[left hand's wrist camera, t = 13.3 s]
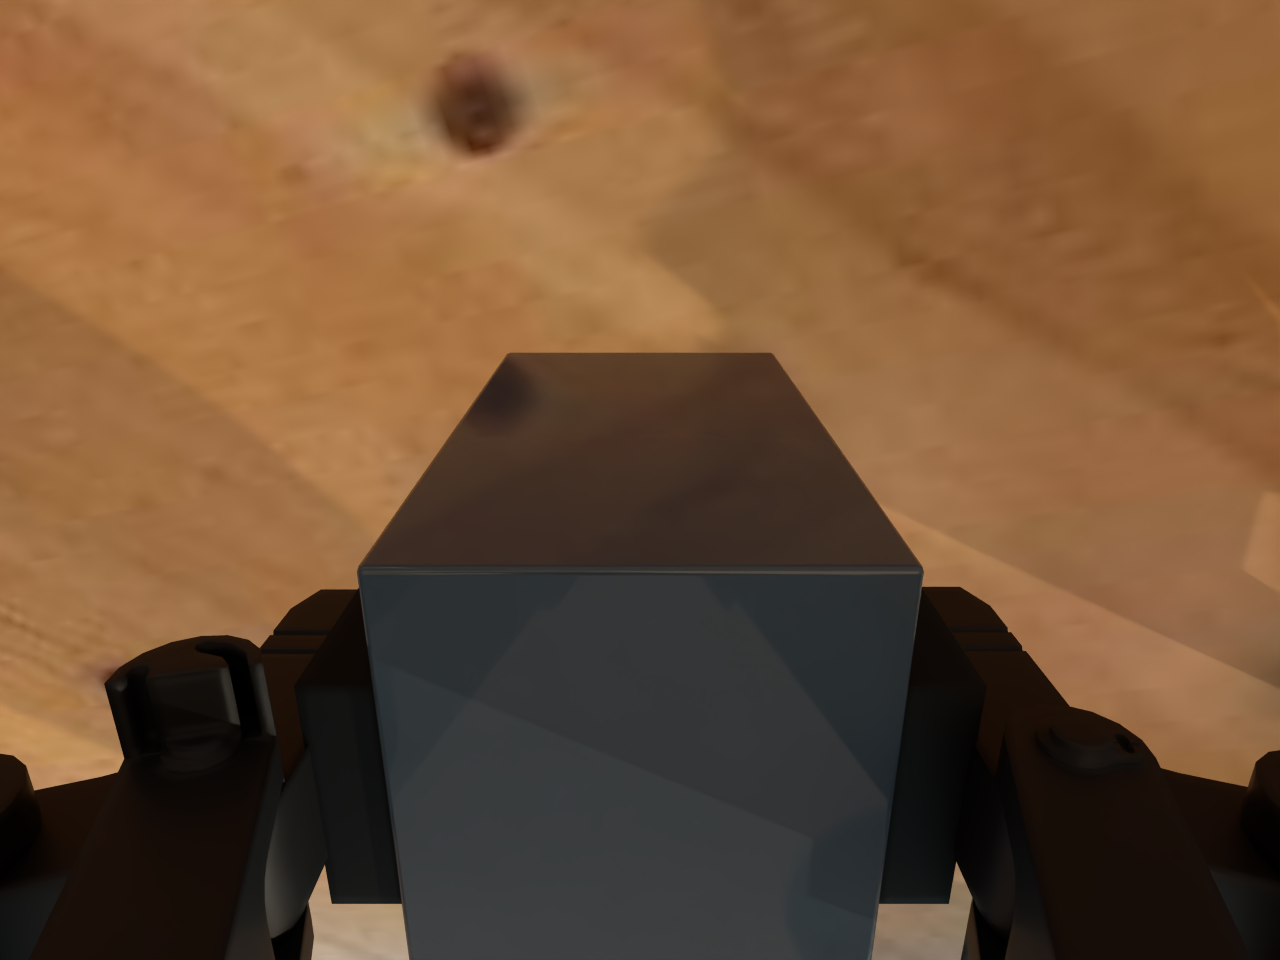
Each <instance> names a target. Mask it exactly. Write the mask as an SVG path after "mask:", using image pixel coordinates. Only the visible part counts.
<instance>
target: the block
mask: <svg viewBox="0 0 1280 960" xmlns="http://www.w3.org/2000/svg"><path fill="white" fill-rule="evenodd" d="M923 575H924V570H923V567H922V565H921V564H920V562H919V561H918V559H917V558H916V557H915V555H914V554H913V552H912V551H911V550H910V548H909V547H908V545H907V544H906V542H905V541H904V540H903V538H902V537H901V535H900V534H899V532H898V531H897V530H896V528H895V527H894V525H893V524H892V522H891V521H890V520H889V518H888V517H887V515H886V514H885V512H884V511H883V510H882V508H881V507H880V505H879V504H878V502H877V501H876V500H875V498H874V497H873V495H872V494H871V493H870V491H869V490H868V488H867V487H866V485H865V484H864V483H863V481H862V480H861V478H860V477H859V475H858V474H857V473H856V471H855V470H854V468H853V467H852V465H851V464H850V463H849V461H848V460H847V458H846V457H845V455H844V454H843V453H842V451H841V450H840V448H839V447H838V445H837V444H836V443H835V441H834V440H833V438H832V437H831V436H830V434H829V433H828V431H827V430H826V428H825V427H824V426H823V424H822V423H821V421H820V420H819V418H818V417H817V416H816V414H815V413H814V411H813V410H812V408H811V407H810V406H809V404H808V403H807V401H806V400H805V398H804V397H803V396H802V394H801V393H800V391H799V390H798V388H797V387H796V386H795V384H794V383H793V381H792V380H791V379H790V377H789V376H788V374H787V373H786V371H785V370H784V369H783V367H782V366H781V364H780V363H779V361H778V360H777V359H776V357H775V356H774V354H772V353H508V354H507V355H506V356H505V358H504V359H503V361H502V362H501V363H500V365H499V366H498V368H497V369H496V371H495V372H494V373H493V375H492V376H491V378H490V379H489V381H488V382H487V383H486V385H485V386H484V388H483V389H482V391H481V392H480V393H479V395H478V396H477V398H476V399H475V401H474V402H473V403H472V405H471V406H470V408H469V409H468V411H467V412H466V413H465V415H464V416H463V418H462V419H461V421H460V422H459V423H458V425H457V426H456V428H455V429H454V431H453V432H452V433H451V435H450V436H449V438H448V439H447V441H446V442H445V443H444V445H443V446H442V448H441V449H440V451H439V452H438V453H437V455H436V456H435V458H434V459H433V461H432V462H431V463H430V465H429V466H428V468H427V469H426V471H425V472H424V473H423V475H422V476H421V478H420V479H419V481H418V482H417V483H416V485H415V486H414V488H413V489H412V491H411V492H410V493H409V495H408V496H407V498H406V499H405V501H404V502H403V504H402V505H401V506H400V508H399V509H398V511H397V512H396V514H395V515H394V516H393V518H392V519H391V521H390V522H389V524H388V525H387V526H386V528H385V529H384V531H383V532H382V534H381V535H380V536H379V538H378V539H377V541H376V542H375V544H374V545H373V546H372V548H371V549H370V551H369V552H368V554H367V555H366V556H365V558H364V559H363V561H362V562H361V564H360V565H359V567H358V570H357V576H358V583H359V591H360V598H361V606H362V613H363V620H364V628H365V635H366V642H367V650H368V657H369V665H370V672H371V679H372V687H373V694H374V702H375V709H376V716H377V724H378V731H379V739H380V746H381V753H382V761H383V768H384V776H385V783H386V790H387V798H388V805H389V813H390V820H391V827H392V835H393V842H394V849H395V857H396V864H397V872H398V879H399V886H400V894H401V901H402V909H403V916H404V923H405V931H406V938H407V946H408V953H409V960H871V958H872V951H873V943H874V936H875V929H876V921H877V914H878V907H879V899H880V892H881V884H882V877H883V870H884V862H885V855H886V848H887V840H888V833H889V825H890V818H891V811H892V803H893V796H894V789H895V781H896V774H897V766H898V759H899V752H900V744H901V737H902V730H903V722H904V715H905V707H906V700H907V693H908V685H909V678H910V671H911V663H912V656H913V649H914V641H915V634H916V626H917V619H918V612H919V604H920V597H921V590H922V582H923Z"/></svg>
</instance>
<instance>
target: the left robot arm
mask: <svg viewBox="0 0 1280 960" xmlns="http://www.w3.org/2000/svg"><path fill="white" fill-rule="evenodd" d="M104 685H105V688H106V692H107V696H108V700H109V703H110V707H111V711H112V714H113V718H114V722H115V725H116V729H117V733H118V737H119V740H120V744H121V748H122V751H123V755H124V761H123V763H122V765H121V767H120V769H119V771H118V772H117V773H114V774H110V775H106V776H103V777H98V778H93V779H88V780H84V781H79V782H74V783H69V784H64V785H59V786H54V787H49V788H45V789H40V790H35V791H34V789H33V786H32V783H31V780H30V777H29V774H28V770H27V767H26V765H24V764H23V763H22V762H21V761H19V760H18V759H17V758H16V757H14V756H12V755H5V754H0V960H311V957H312V949H313V940H314V934H313V926H312V919H311V913H310V908H309V903H308V901H309V898H310V896H311V894H312V892H313V889H314V887H315V885H316V883H317V881H318V878H319V876H320V874H321V872H322V869H323V867H324V865H325V867H326V873H327V879H328V884H329V890H330V896H331V902H332V904H402V901H401V894H400V886H399V879H398V872H397V864H396V857H395V849H394V842H393V835H392V827H391V820H390V813H389V805H388V798H387V790H386V783H385V776H384V768H383V761H382V753H381V746H380V739H379V731H378V724H377V716H376V709H375V702H374V694H373V687H372V679H371V672H370V665H369V657H368V650H367V642H366V635H365V628H364V620H363V613H362V606H361V598H360V591H359V588H358V590H320V591H318V592H316V593H315V594H313V595H312V596H310V597H309V598H307V599H305V600H304V601H302V602H301V603H299V604H297V605H296V606H294V607H293V608H291V609H290V610H289V612H288V613H287V614H286V616H285V617H284V618H283V619H282V621H281V622H280V623H279V624H278V626H277V627H276V628H275V630H274V634H273V635H270V636H269V637H268V638H267V640H266V641H265V642H264V644H263V645H262V646H261V647H260V648H258V647H257V646H256V645H255V644H253V643H252V642H251V641H249V640H247V639H242V638H238V637H233V636H229V635H222V636H199V637H195V638H190V639H185V640H180V641H175V642H171V643H168V644H166V645H163V646H160V647H158V648H155V649H153V650H150V651H147V652H145V653H142V654H141V655H139V656H138V657H136V658H134V659H133V660H131V661H129V662H128V663H126V664H124V665H123V666H121V667H119V668H118V670H117V671H116V672H115V673H114V674H113V675H112V676H111V677H110V678H109V679H108V680H107V681H106V682H105V683H104ZM956 862H957V864H958V866H959V868H960V871H961V873H962V875H963V877H964V879H965V882H966V884H967V886H968V888H969V890H970V893H971V895H972V897H973V898H972V903H971V908H970V913H969V919H968V924H967V929H966V935H965V940H964V945H963V951H962V956H961V960H1280V750H1279V751H1272V752H1268V753H1267V754H1265V755H1264V756H1263V757H1262V758H1260V759H1259V760H1258V761H1257V762H1256V764H1255V767H1254V770H1253V773H1252V776H1251V779H1250V782H1249V785H1248V787H1245V786H1240V785H1235V784H1230V783H1225V782H1220V781H1215V780H1210V779H1205V778H1201V777H1196V776H1191V775H1186V774H1181V773H1177V772H1173V771H1170V770H1166V769H1162V768H1160V766H1159V763H1158V761H1157V759H1156V757H1155V756H1154V755H1153V754H1152V752H1151V751H1150V750H1149V748H1148V747H1147V746H1146V745H1145V743H1144V742H1143V741H1142V740H1141V739H1140V738H1138V737H1137V736H1136V735H1134V734H1133V733H1131V732H1130V731H1129V730H1127V729H1126V728H1124V727H1123V726H1122V725H1120V724H1118V723H1116V722H1114V721H1112V720H1109V719H1107V718H1105V717H1103V716H1100V715H1098V714H1096V713H1093V712H1090V711H1086V710H1082V709H1078V708H1074V707H1070V706H1069V705H1068V704H1067V702H1066V701H1065V700H1064V699H1063V697H1062V696H1061V695H1060V694H1059V692H1058V691H1057V690H1056V688H1055V687H1054V686H1053V685H1052V683H1051V682H1050V681H1049V680H1048V678H1047V677H1046V676H1045V675H1044V673H1043V672H1042V671H1041V670H1040V668H1039V667H1038V666H1037V664H1036V663H1035V662H1034V661H1033V659H1032V658H1031V657H1030V656H1029V654H1028V653H1027V652H1026V651H1022V645H1021V644H1020V643H1019V642H1018V640H1017V639H1016V638H1015V637H1014V635H1013V634H1012V633H1011V632H1008V628H1007V627H1006V625H1005V624H1004V623H1003V621H1002V620H1001V619H1000V618H999V616H998V615H997V614H996V613H995V611H994V610H993V609H992V608H991V606H990V605H988V604H986V603H985V602H983V601H982V600H980V599H978V598H977V597H975V596H974V595H972V594H970V593H969V592H967V591H966V590H964V589H962V588H961V587H922V590H921V597H920V604H919V612H918V619H917V626H916V634H915V641H914V649H913V656H912V663H911V671H910V678H909V685H908V693H907V700H906V707H905V715H904V722H903V730H902V737H901V744H900V752H899V759H898V766H897V774H896V781H895V789H894V796H893V803H892V811H891V818H890V825H889V833H888V840H887V848H886V855H885V862H884V870H883V877H882V884H881V892H880V899H879V904H949V899H950V893H951V888H952V882H953V876H954V871H955V865H956Z"/></svg>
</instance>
